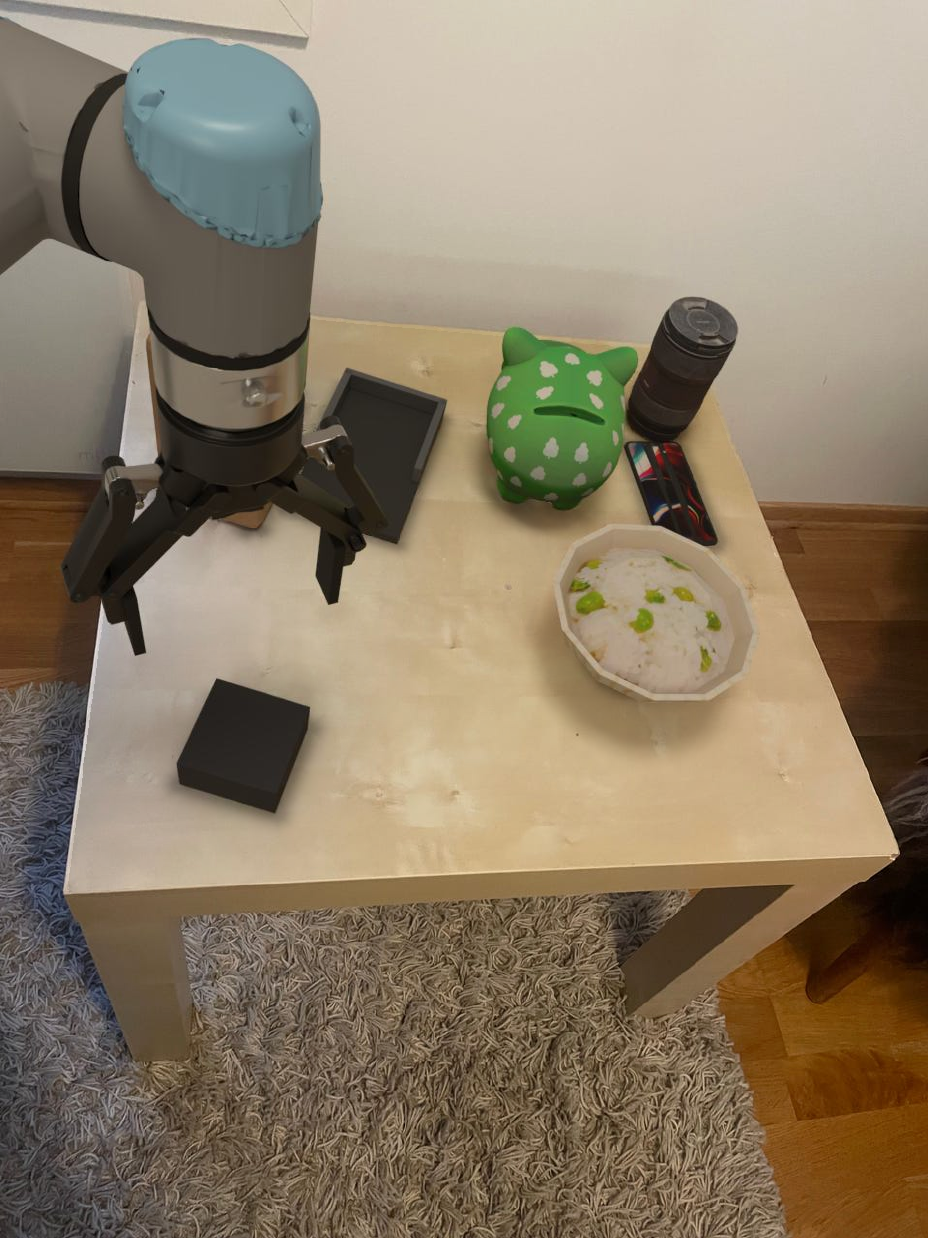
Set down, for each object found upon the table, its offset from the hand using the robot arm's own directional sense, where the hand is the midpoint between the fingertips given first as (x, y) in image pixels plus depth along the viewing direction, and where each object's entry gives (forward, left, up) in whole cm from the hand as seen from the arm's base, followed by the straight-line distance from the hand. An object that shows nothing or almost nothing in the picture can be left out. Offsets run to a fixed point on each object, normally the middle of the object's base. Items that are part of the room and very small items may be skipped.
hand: (234, 613), depth 65 cm
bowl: (+32, +18, -16) cm, 40 cm away
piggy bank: (+19, +39, -16) cm, 46 cm away
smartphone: (+34, +42, -17) cm, 56 cm away
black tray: (+2, +32, -16) cm, 36 cm away
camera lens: (+31, +52, -16) cm, 63 cm away
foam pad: (+2, -3, -16) cm, 16 cm away
